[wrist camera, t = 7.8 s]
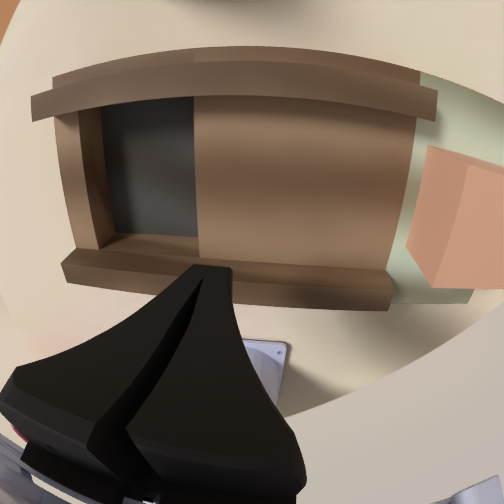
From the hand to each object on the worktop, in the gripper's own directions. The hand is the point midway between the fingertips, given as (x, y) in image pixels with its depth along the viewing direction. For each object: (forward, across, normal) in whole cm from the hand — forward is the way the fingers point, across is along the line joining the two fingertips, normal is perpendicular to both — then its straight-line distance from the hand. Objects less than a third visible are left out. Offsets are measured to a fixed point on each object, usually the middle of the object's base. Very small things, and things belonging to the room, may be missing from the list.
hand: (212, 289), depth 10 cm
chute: (+9, -3, -2) cm, 10 cm away
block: (+6, -13, -2) cm, 14 cm away
